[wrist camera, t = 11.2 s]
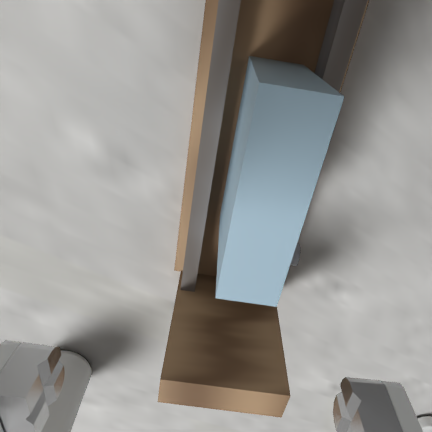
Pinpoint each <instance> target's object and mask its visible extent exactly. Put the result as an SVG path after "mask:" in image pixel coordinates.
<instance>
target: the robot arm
mask: <svg viewBox="0 0 432 432" xmlns="http://www.w3.org/2000/svg"><path fill="white" fill-rule="evenodd" d="M60 357H61V351H60V347H55V346H47V345H39V344H32V343H24V342H16V341H7V340H5V341H4V342H3V343H1V344H0V432H41V431H42V429H43V427H44V425H45V423H46V421H47V419H48V417H49V411H48V406H49V405H50V404H52V403H53V402H54V401H56V400H57V398H58V396H59V394H60V392H61V389H62V385H63V382H64V375H65V370H64V365H63V364H62V363H61V362H60V361H59V359H60ZM341 389H342V392H340V393H339V394H337V395H336V398H335V401H334V408H333V415H334V423H335V428H336V431H337V432H432V417H431V416H425V417H420V418H417V416H416V414H415V412H414V410H413V407H412V405H411V403H410V401H409V398H408V396H407V394H406V391H405V389H404V387H403V386H402V385H401V384H400V383H397V382H386V381H380V380H371V379H360V378H349V377H345V378H344V379H343V380H342V382H341Z"/></svg>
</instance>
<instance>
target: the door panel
mask: <svg viewBox="0 0 432 432" xmlns="http://www.w3.org/2000/svg"><path fill="white" fill-rule="evenodd" d="M343 100H344V96H343V95H342V94H340V93H339V92H338V91H337V90H335V89H334V88H333V87H331V86H330V85H329V84H328V83H326V82H325V81H324V80H322V79H321V78H320V77H319V76H317V75H316V74H315V73H313V72H312V71H311V70H310V69H308V68H307V67H306V66H304V65H301V64H295V63H289V62H283V61H277V60H271V59H265V58H260V57H254V56H249V59H248V64H247V70H246V75H245V81H244V86H243V92H242V97H241V103H240V108H239V113H238V119H237V124H236V130H235V135H234V141H233V146H232V152H231V157H230V163H229V168H228V174H227V179H226V185H225V190H224V196H223V201H222V207H221V212H220V223H219V242H218V260H217V279H216V297H215V298H217V299H224V300H231V301H238V302H245V303H252V304H260V305H267V306H274V307H277V304H278V301H279V298H280V295H281V292H282V288H283V285H284V282H285V279H286V276H287V273H288V270H289V267H290V265H293V266H296V265H297V264H298V262H299V258H300V245H299V243H297V242H298V239H299V236H300V233H301V230H302V227H303V224H304V220H305V217H306V214H307V211H308V208H309V205H310V202H311V199H312V196H313V193H314V189H315V186H316V183H317V180H318V177H319V174H320V171H321V168H322V165H323V162H324V159H325V155H326V152H327V149H328V146H329V143H330V140H331V137H332V134H333V131H334V128H335V124H336V121H337V118H338V115H339V112H340V109H341V106H342V103H343Z"/></svg>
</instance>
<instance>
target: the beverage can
mask: <svg viewBox="0 0 432 432" xmlns="http://www.w3.org/2000/svg"><path fill="white" fill-rule="evenodd" d="M59 361H60V362H61V363H62V364H63V365H64V370H65V375H64V382H63V385H62V389H61V392H60V394H59V396H58V398H57V400H56V401H54V402H53V403H52V404H50V405H49V406H48V411H49V417H48V419H47V421H46V423H45V425H44V427H43V429H42V431H41V432H70V431H71V429H72V426H73V423H74V420H75V418H76V415H77V412H78V409H79V407H80V404H81V401H82V399H83V396H84V393H85V391H86V388H87V385H88V383H89V380H90V377H91V374H92V372H91V367H90V365H89V363H88V362H87V360H86V359H85V358H84V357H82V356H81V355H79V354H77V353H74V352H71V351H63V350H62V351H61V357H60V359H59Z"/></svg>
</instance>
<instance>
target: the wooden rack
mask: <svg viewBox="0 0 432 432" xmlns="http://www.w3.org/2000/svg"><path fill="white" fill-rule="evenodd" d="M368 3H369V0H206V3H205V12H204V20H203V29H202V37H201V46H200V55H199V63H198V72H197V80H196V89H195V97H194V106H193V115H192V123H191V132H190V140H189V149H188V157H187V166H186V175H185V183H184V192H183V200H182V209H181V217H180V226H179V235H178V243H177V252H176V260H175V269H174V270H176V271H181V274H180V279H179V284H178V290H177V295H176V300H175V305H174V311H173V316H172V321H171V326H170V332H169V337H168V342H167V347H166V353H165V358H164V363H163V368H162V373H161V379H160V387H159V396H158V402H163V403H171V404H179V405H187V406H195V407H203V408H211V409H219V410H227V411H235V412H243V413H251V414H259V415H267V416H275V417H282V415H283V412H284V410H285V408H286V405H287V403H288V400H289V398H290V391H289V384H288V378H287V371H286V364H285V358H284V351H283V345H282V338H281V332H280V325H279V319H278V312H277V307H274V306H267V305H260V304H252V303H245V302H238V301H231V300H224V299H217V298H215V297H216V279H217V260H218V242H219V223H220V212H221V207H222V201H223V196H224V190H225V185H226V179H227V174H228V168H229V163H230V157H231V152H232V146H233V141H234V135H235V130H236V124H237V119H238V113H239V108H240V103H241V97H242V92H243V86H244V81H245V75H246V70H247V64H248V59H249V56H254V57H260V58H265V59H271V60H277V61H283V62H289V63H295V64H301V65H304V66H306V67H307V68H308V69H310V70H311V71H312V72H313V73H315V74H316V75H317V76H319V77H320V78H321V79H322V80H324V81H325V82H326V83H328V84H329V85H330V86H331V87H333V88H334V89H335V90H337V91H338V92H339V93H340V92H341V89H342V85H343V82H344V79H345V76H346V73H347V70H348V66H349V63H350V60H351V57H352V54H353V50H354V47H355V44H356V41H357V38H358V35H359V31H360V28H361V25H362V22H363V19H364V15H365V12H366V9H367V6H368Z"/></svg>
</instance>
